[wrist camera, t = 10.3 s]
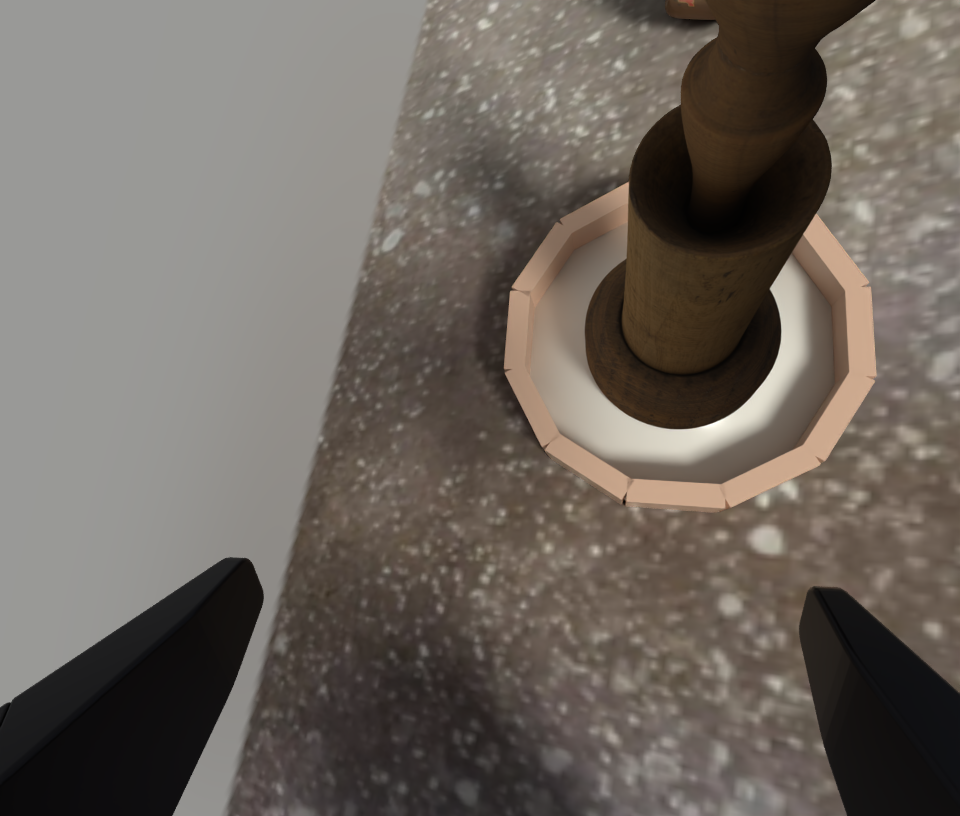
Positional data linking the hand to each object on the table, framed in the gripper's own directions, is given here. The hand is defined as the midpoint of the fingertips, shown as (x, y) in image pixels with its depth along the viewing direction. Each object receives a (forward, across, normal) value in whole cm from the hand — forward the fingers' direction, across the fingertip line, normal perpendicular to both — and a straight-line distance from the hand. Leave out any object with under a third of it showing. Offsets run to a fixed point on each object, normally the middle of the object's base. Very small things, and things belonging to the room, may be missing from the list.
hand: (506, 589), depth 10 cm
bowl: (+16, -4, +3) cm, 17 cm away
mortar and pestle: (+15, -4, +3) cm, 16 cm away
